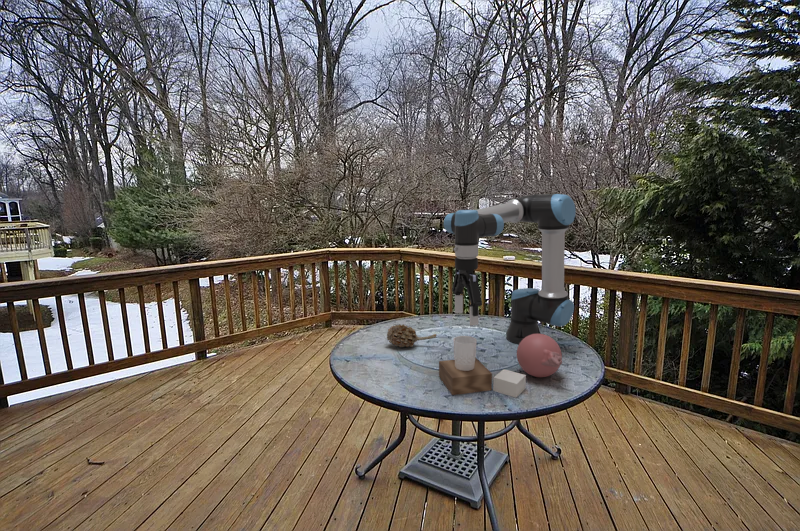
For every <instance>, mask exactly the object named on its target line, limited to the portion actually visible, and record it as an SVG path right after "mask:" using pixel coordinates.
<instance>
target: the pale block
mask: <svg viewBox="0 0 800 531" xmlns="http://www.w3.org/2000/svg"><path fill="white" fill-rule="evenodd" d="M526 376H527V375H526V374H524V373H523V374H522V373H519V372H516V371H513V370H508V369H502V370H501V371H499V372H498V373H497V374H496V375H495V376H493V381H492V391H493V392H496V393H499V394H502V395H506V396H509V397H512V398H515V399H517V397H519V395H520V394H521V393H523V391H524V390H526V387H527V386H526V385H527V384H526V380H527V379H526V378H527V377H526Z"/></svg>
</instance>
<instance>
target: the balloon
mask: <svg viewBox="0 0 800 531" xmlns="http://www.w3.org/2000/svg"><path fill="white" fill-rule="evenodd" d="M516 349H517V350H516V359H517V362H518V364H519V366H520V368H521V369H522V370H523V371H524V372H525V373H526V374H527V375H530V376H531V377H536V378H547V377H550V376H552V375H553V374H555V373H556V372H557V371H558V370H559V369H560V366H561V365H562V364H563V360H562V359H563V355H562V350H561V347H560V345H559V344H558V342H557V341H556V340H555V339H554V338H553V337H552V336H549V335H547V334H544V333H541V334H531V335H529V336H527V337H525V338H524V339H523V340H522V341H521V342H520V344H518V346H517V348H516Z"/></svg>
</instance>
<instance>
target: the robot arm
mask: <svg viewBox="0 0 800 531" xmlns="http://www.w3.org/2000/svg"><path fill="white" fill-rule="evenodd" d="M576 209H577V208H576V205H575V202H574V200H573V199H572V197H571V196H570V195H567V194H562V193H549V194H548V193H545V194H543V193H542V194H540V193H539V194H538V193H533V194H529V195H525V196H520V197H516V198H513V199H510V200H507V202H506V203H501V204H495V205H491V206H487V207H483V208H478V209H459V210H457V211H455V212H453V213H448V214H447V215H445V217H444V218H443V219H444V220H443V228H444V229H445V232H446V233H449V234H453V235H454V248H453V251H454V256H455V258H454V268H455V274H454V279H453V284H452V290H451V291H452V292H453V295H454V314H463V313H464V310H463V308H464V296H463V295H464V289H466V291H467V294H468V299H469V305H468V306H469V326H479V310H480V309H479V307H480V306H482V305H483V301H482V295H481V290H480V286H479V275H478V274H474V271H475V270H478V267H479V266H478V265H479V259H478V256H479V239H480V238H486V237H488V238H489V237H495V236H499V235H500V234H501V233H503V230H504V227H505V223H509V222H511V223H512V224H514V223H521V222H522V223H534V224H537V230H538V231H539V232H541V289H540V290H539V289H538V288H536V287H535V288H533V287H532V288H531V287H529V288H528V287H526V288H524V287H523V288H518V289H514V290H513V291H512V293H511V297H510V298H511V299H510V322H509V324H508V325H509V326H508V327H507V331H506V334H505V335H506V336H505V338H506V340H507V341H509V342H511V343H513V344H518V345H519V344H520V342H521V341H522V340H523V339H524V338H525V337H527V336H529V335H531V334H542V333H541V330H540V327H539V324H538V323H543V324H547V325H549V326H550V325H551V326H556V327H564V326H566V325H567V324H569V322H570V321H571V319H572V317H573V314H574V310H575V305H574V302H573V300H571V299H569V293H568V292H567V291H566V290H565V248H566V246H565V238H566V237H565V234H566V232H567V231H568V230H569V228H570V225H572V224H573V223H574V221H575V218H576V212H577V211H576Z"/></svg>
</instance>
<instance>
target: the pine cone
mask: <svg viewBox="0 0 800 531" xmlns="http://www.w3.org/2000/svg"><path fill="white" fill-rule="evenodd" d="M436 338H437V333H434V334H432V335H427V336H420V337H419V336H418V335H417V332H416V329H415V328H412V327H411V326H409V327H408V326H407V325H405V324H395V325H392V326H391V327H389V328H388V330H387V333H386V339H387V341H389V343H390V344H392V345H394V346H395V347H399V348H405V347H406V348H409V347H410V348H412V347H413V346H414V345H415V344H416V342H419V341H425V340H431V339H436Z"/></svg>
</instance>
